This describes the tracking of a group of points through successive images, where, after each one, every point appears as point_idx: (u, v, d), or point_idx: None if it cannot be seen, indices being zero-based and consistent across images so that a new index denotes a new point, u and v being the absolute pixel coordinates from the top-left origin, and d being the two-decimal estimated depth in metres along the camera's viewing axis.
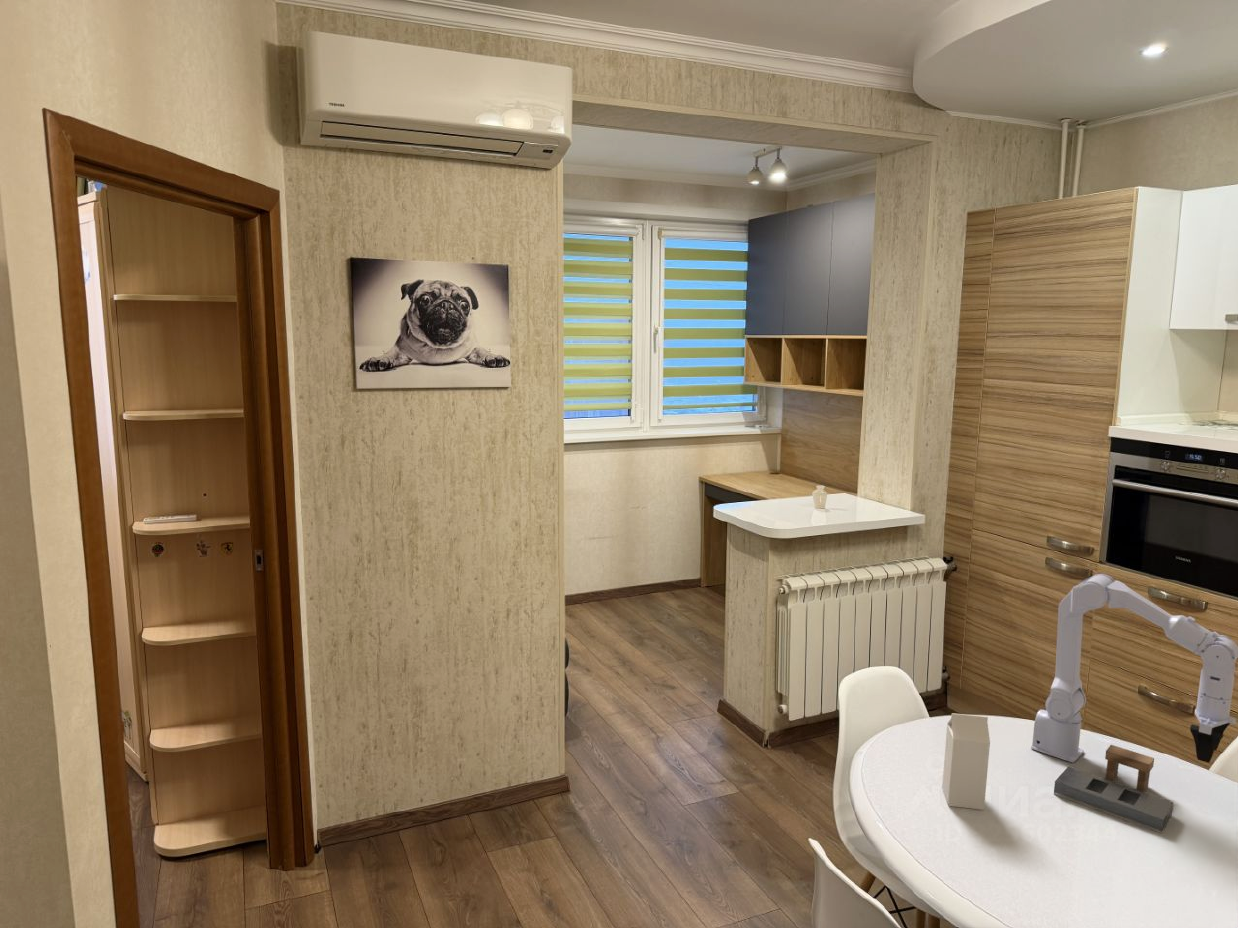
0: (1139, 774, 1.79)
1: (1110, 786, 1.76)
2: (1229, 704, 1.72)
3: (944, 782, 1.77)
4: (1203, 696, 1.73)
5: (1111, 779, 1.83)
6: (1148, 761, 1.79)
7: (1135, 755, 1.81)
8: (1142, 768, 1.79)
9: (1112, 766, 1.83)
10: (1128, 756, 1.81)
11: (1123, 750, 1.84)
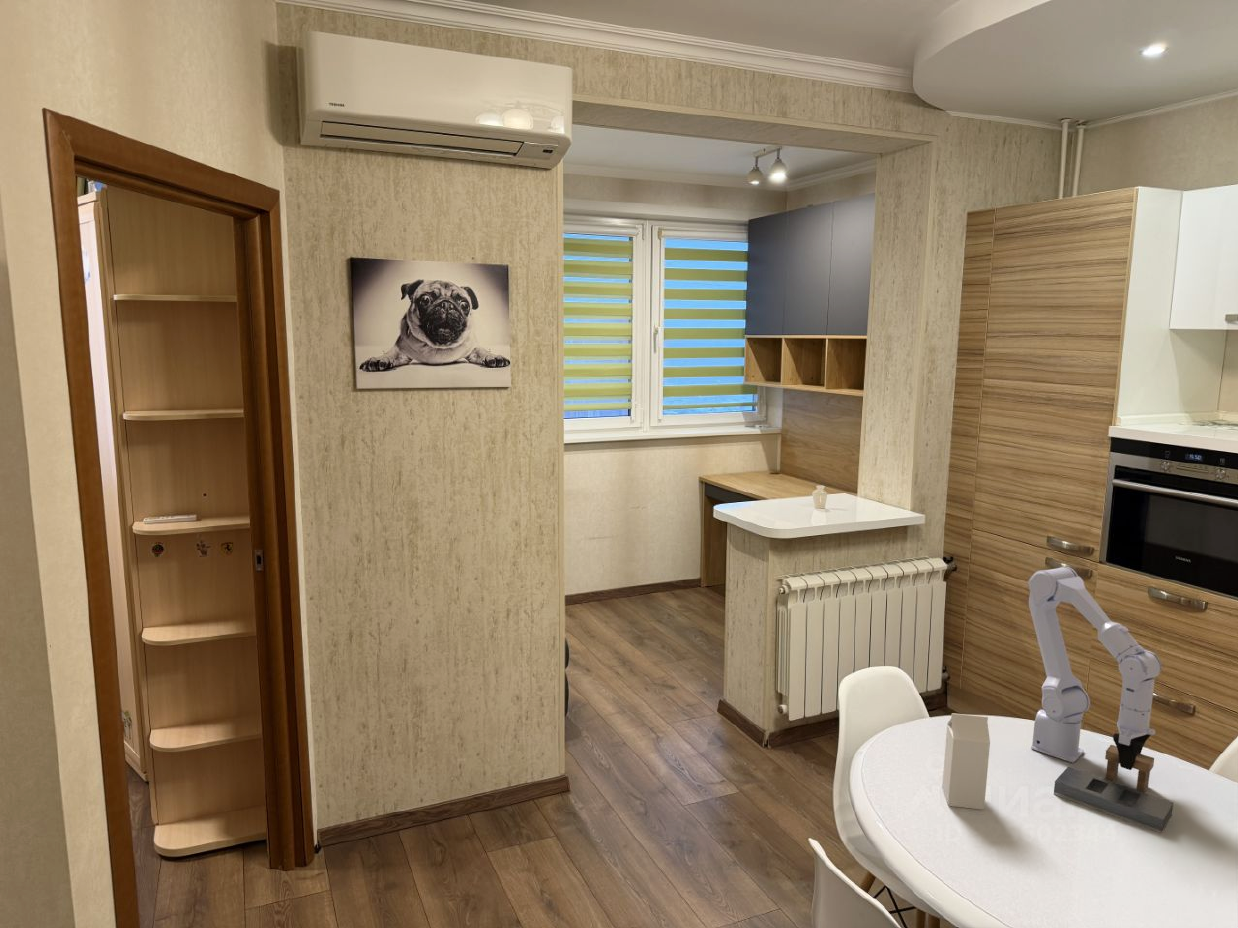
0: (1139, 774, 1.79)
1: (1110, 786, 1.76)
2: (1148, 716, 1.78)
3: (944, 782, 1.77)
4: (1124, 708, 1.80)
5: (1111, 779, 1.83)
6: (1148, 761, 1.79)
7: None
8: (1142, 768, 1.79)
9: (1112, 766, 1.83)
10: None
11: None
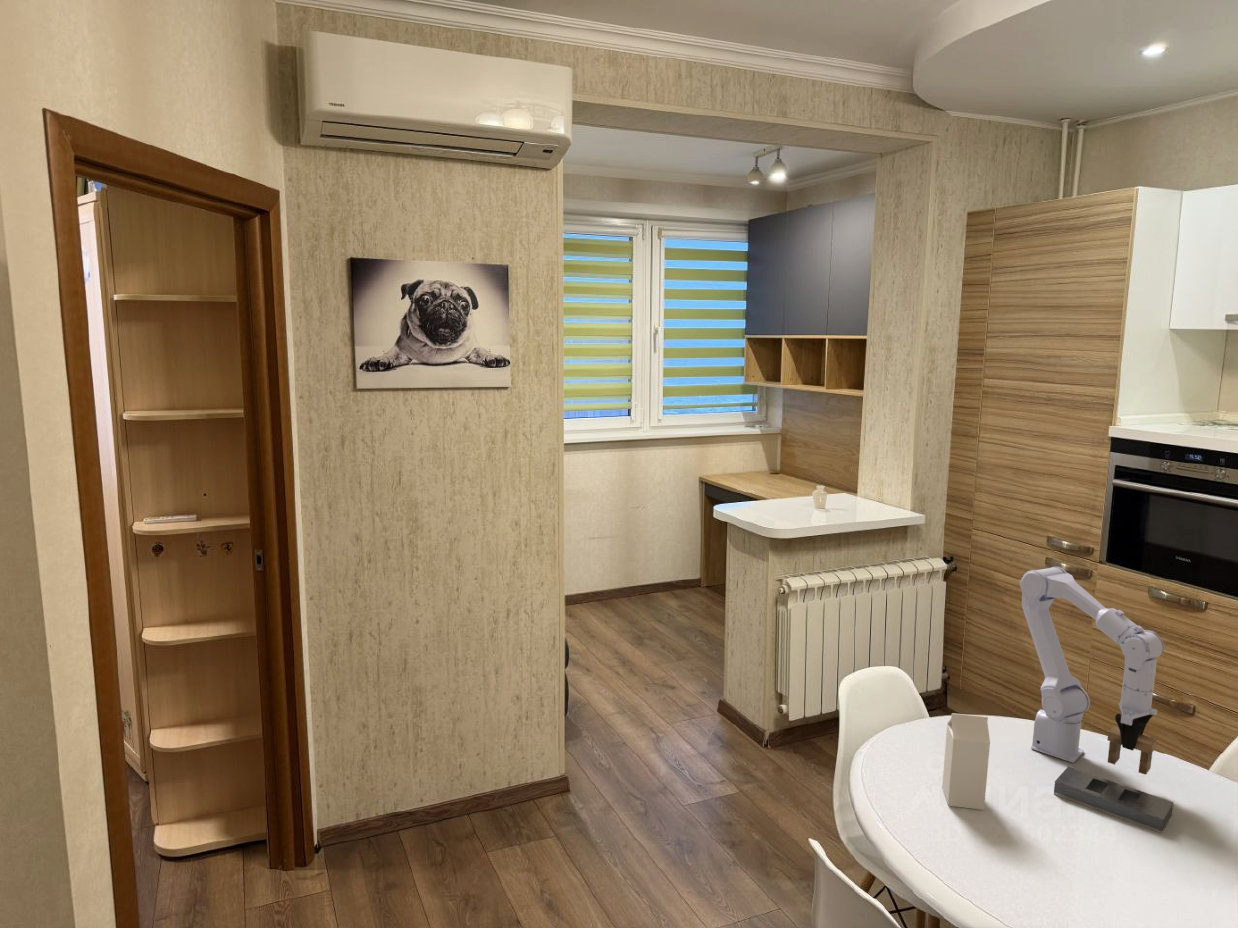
0: (1141, 755, 1.78)
1: (1110, 786, 1.76)
2: (1150, 696, 1.77)
3: (944, 782, 1.77)
4: (1126, 688, 1.79)
5: (1113, 760, 1.82)
6: (1150, 742, 1.78)
7: None
8: (1144, 749, 1.78)
9: (1115, 747, 1.82)
10: None
11: None
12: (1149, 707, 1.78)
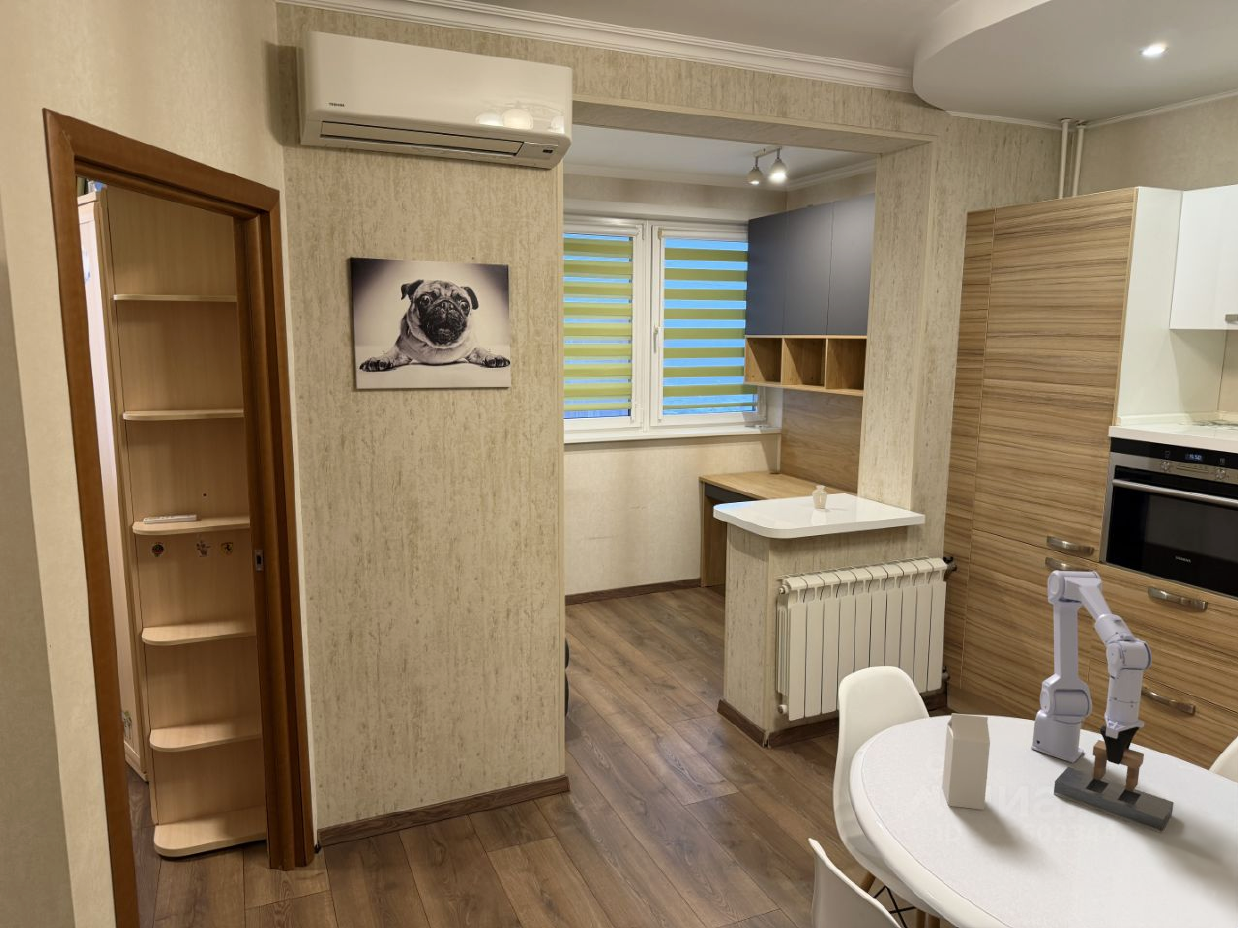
0: (1128, 771, 1.70)
1: (1110, 786, 1.76)
2: (1137, 707, 1.69)
3: (944, 782, 1.77)
4: (1111, 699, 1.70)
5: (1099, 776, 1.74)
6: (1137, 757, 1.70)
7: None
8: (1131, 764, 1.69)
9: (1100, 763, 1.73)
10: None
11: None
12: (1136, 719, 1.69)
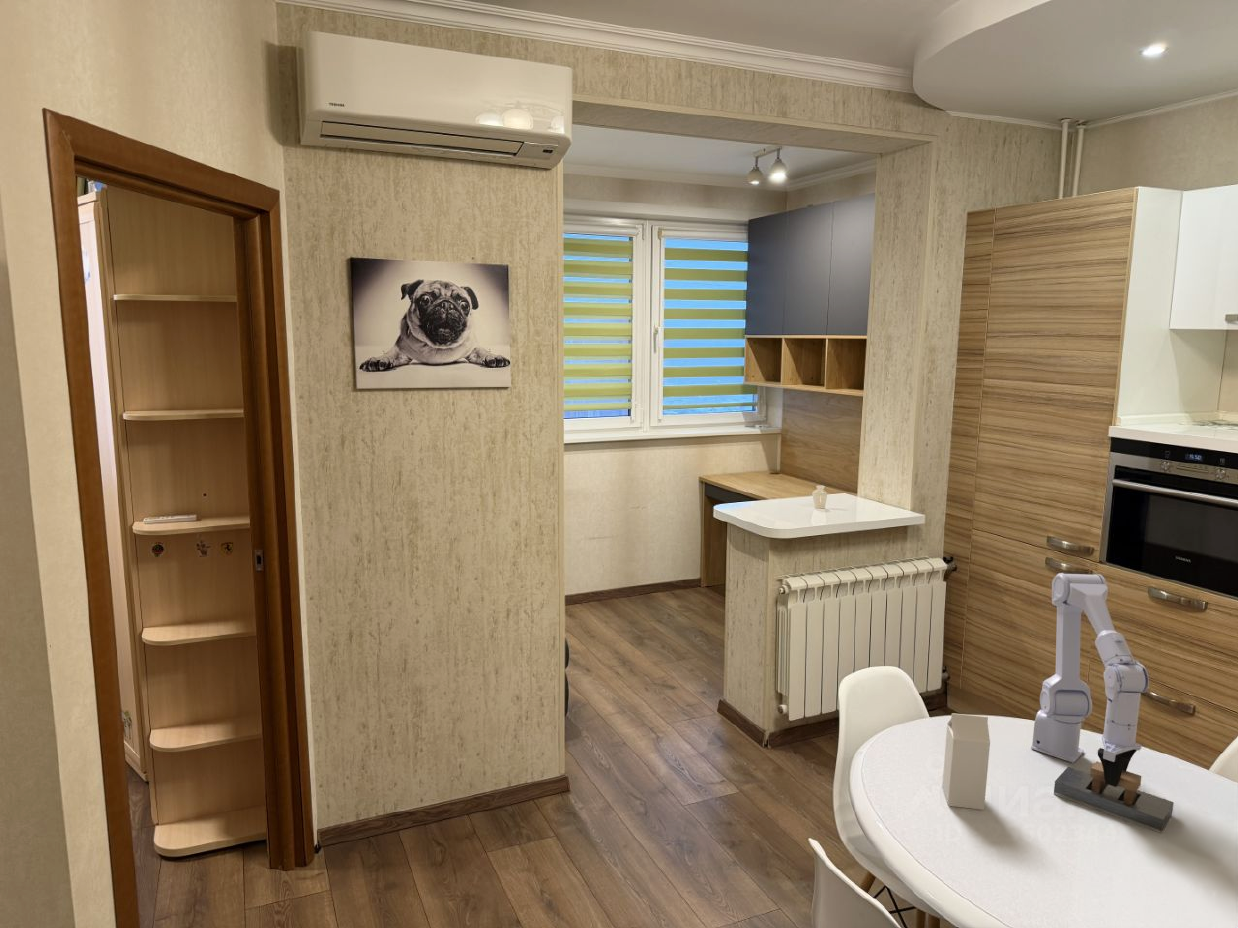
0: (1125, 793, 1.70)
1: (1110, 786, 1.76)
2: (1134, 730, 1.69)
3: (944, 782, 1.77)
4: (1109, 722, 1.71)
5: None
6: (1134, 779, 1.70)
7: None
8: (1129, 787, 1.70)
9: (1098, 784, 1.74)
10: None
11: None
12: (1133, 742, 1.70)
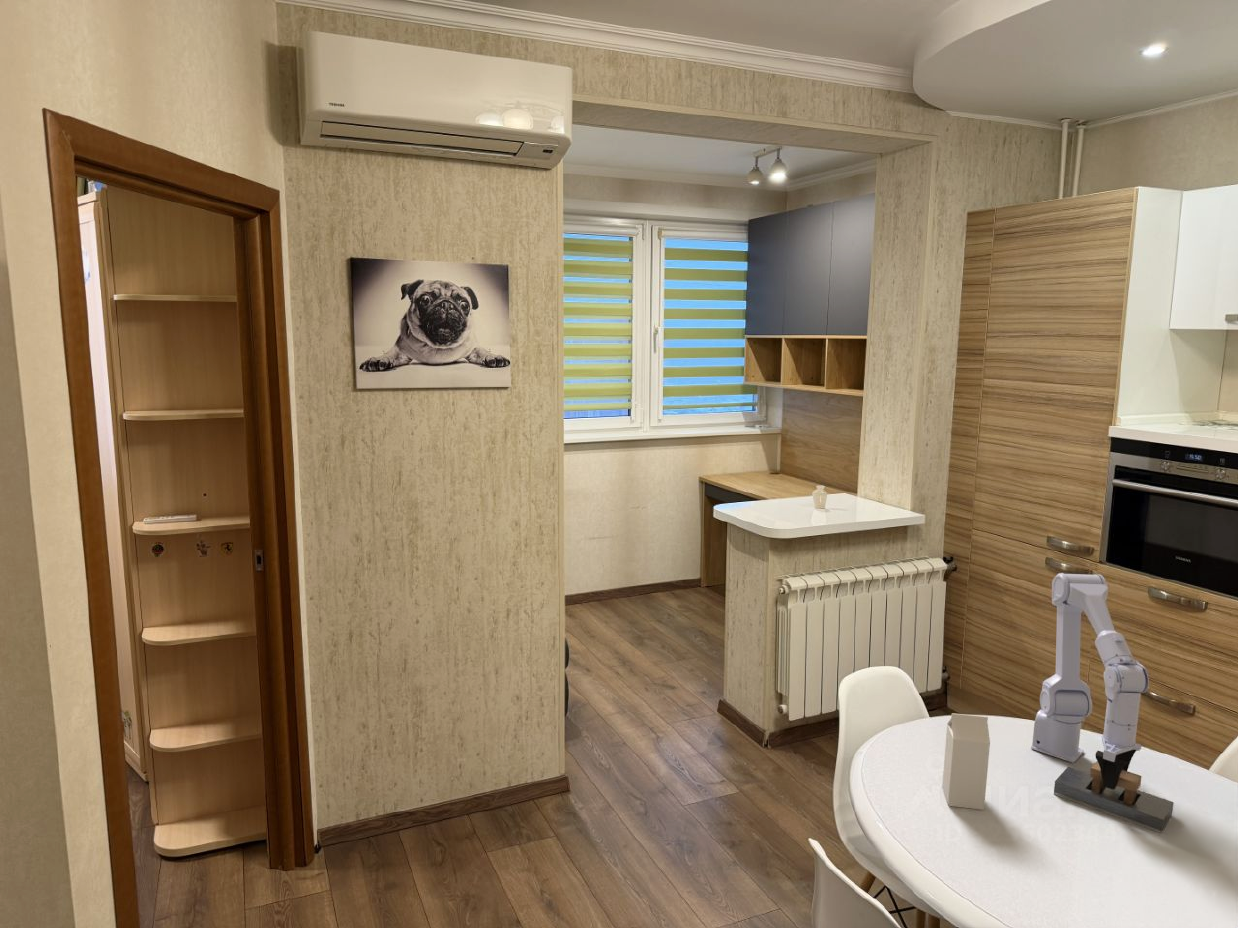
0: (1125, 793, 1.70)
1: None
2: (1134, 730, 1.69)
3: (944, 782, 1.77)
4: (1109, 722, 1.71)
5: None
6: (1134, 779, 1.70)
7: (1121, 773, 1.73)
8: (1129, 787, 1.70)
9: (1098, 784, 1.74)
10: None
11: None
12: (1133, 742, 1.70)
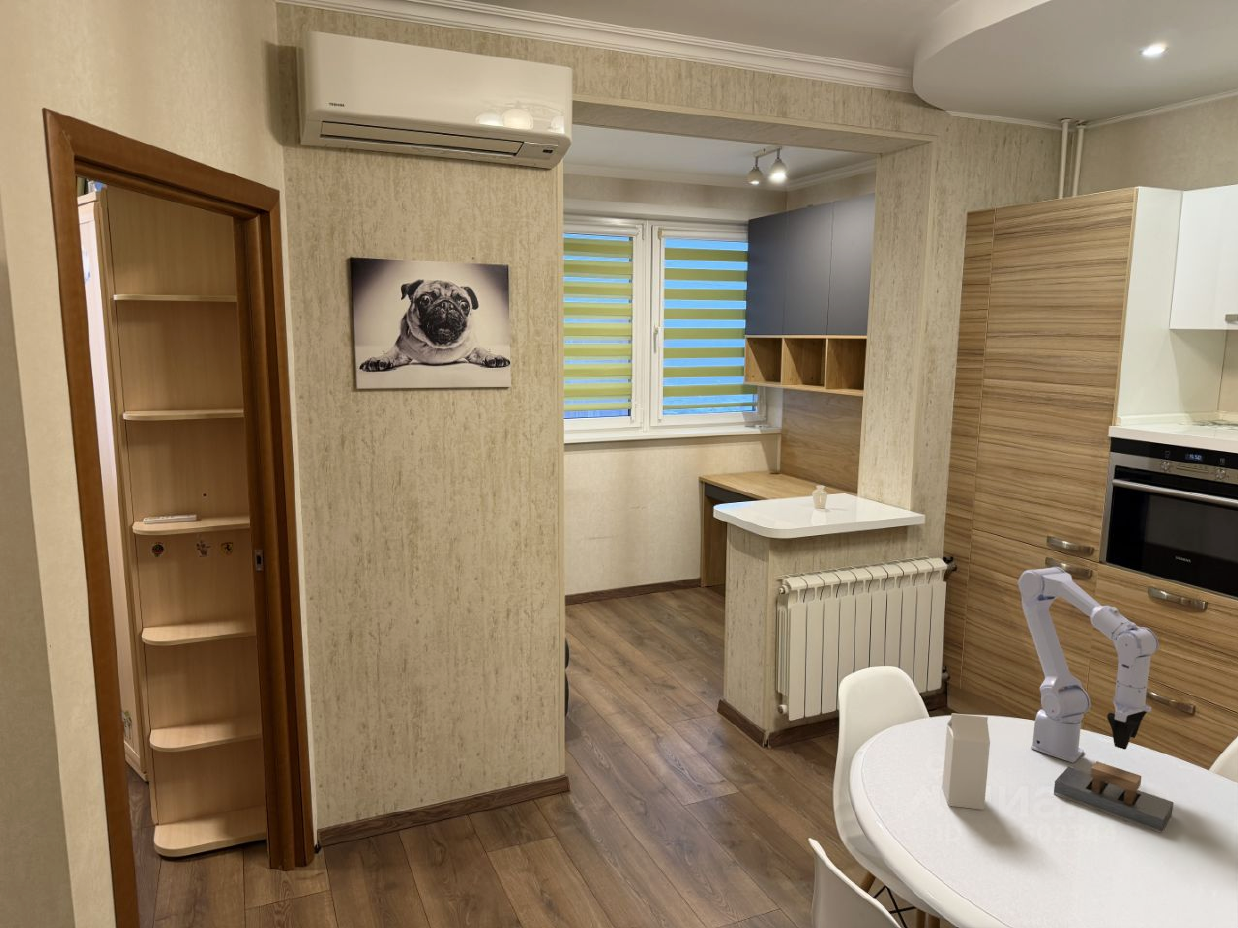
0: (1125, 793, 1.70)
1: (1110, 786, 1.76)
2: (1144, 693, 1.77)
3: (944, 782, 1.77)
4: (1120, 685, 1.79)
5: None
6: (1134, 779, 1.70)
7: (1121, 773, 1.73)
8: (1129, 787, 1.70)
9: (1098, 784, 1.74)
10: (1114, 773, 1.72)
11: (1109, 767, 1.75)
12: (1143, 704, 1.78)
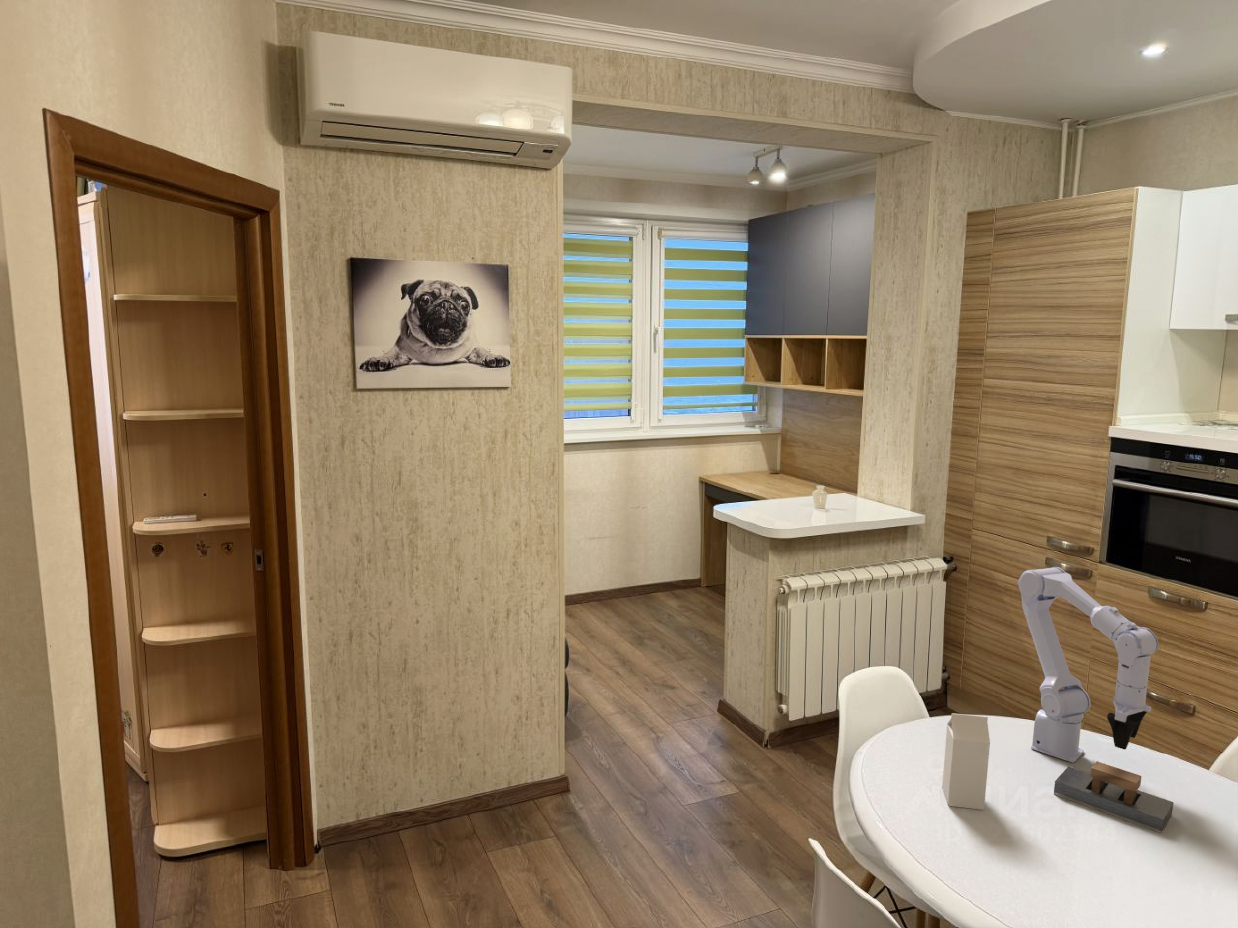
0: (1125, 793, 1.70)
1: (1110, 786, 1.76)
2: (1144, 693, 1.77)
3: (944, 782, 1.77)
4: (1120, 685, 1.79)
5: None
6: (1134, 779, 1.70)
7: (1121, 773, 1.73)
8: (1129, 787, 1.70)
9: (1098, 784, 1.74)
10: (1114, 773, 1.72)
11: (1109, 767, 1.75)
12: (1143, 704, 1.78)
